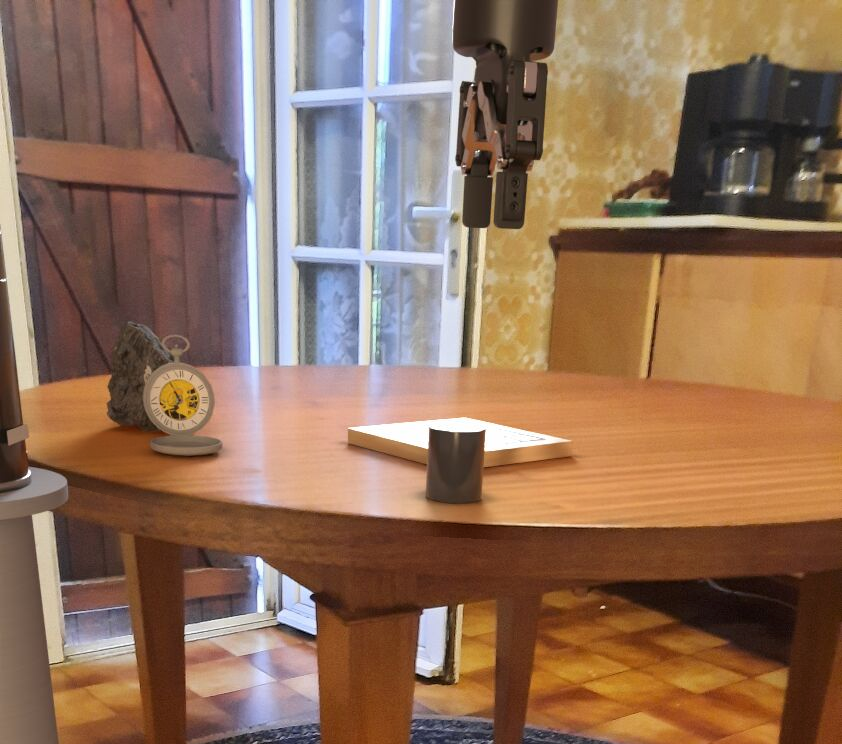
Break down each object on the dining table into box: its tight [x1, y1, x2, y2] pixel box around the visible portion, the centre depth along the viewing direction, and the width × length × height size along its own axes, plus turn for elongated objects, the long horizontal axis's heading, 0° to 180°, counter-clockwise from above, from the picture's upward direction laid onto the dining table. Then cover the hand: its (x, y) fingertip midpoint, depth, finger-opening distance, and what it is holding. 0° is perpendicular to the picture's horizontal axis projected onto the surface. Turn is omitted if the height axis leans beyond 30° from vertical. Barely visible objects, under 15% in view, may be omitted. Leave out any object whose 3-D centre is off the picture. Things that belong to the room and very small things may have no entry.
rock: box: [106, 320, 198, 432], centre depth 111 cm, size 12×10×10 cm
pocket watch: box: [143, 334, 223, 457], centre depth 99 cm, size 8×8×10 cm
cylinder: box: [425, 422, 486, 504], centre depth 86 cm, size 5×5×6 cm
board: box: [347, 417, 574, 468], centre depth 107 cm, size 16×16×2 cm
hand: (491, 228), depth 84 cm, fingers open, 8 cm apart
